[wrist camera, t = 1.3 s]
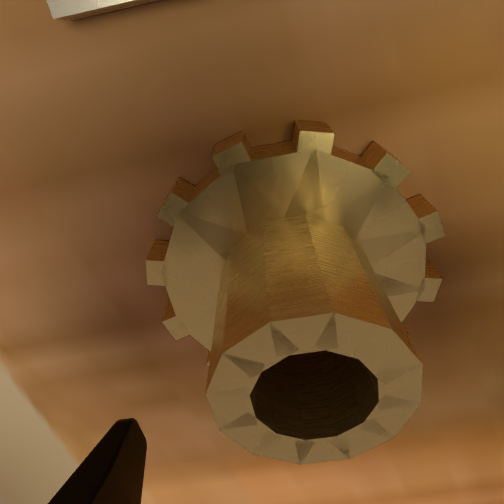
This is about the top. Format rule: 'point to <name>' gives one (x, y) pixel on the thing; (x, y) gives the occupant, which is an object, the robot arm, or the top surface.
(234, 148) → the gear
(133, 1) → the carrier plate
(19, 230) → the top surface
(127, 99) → the top surface
